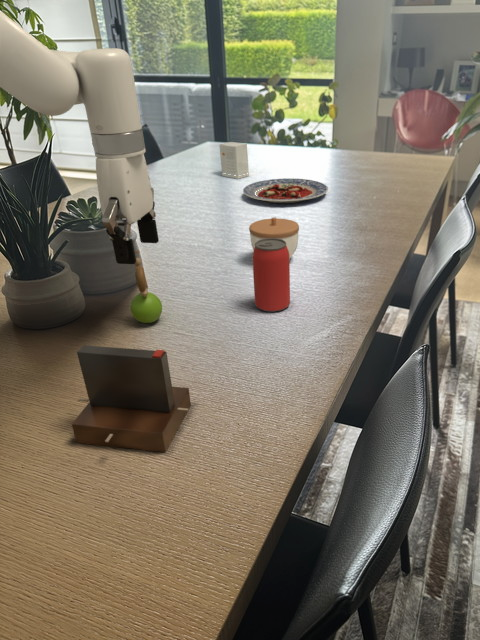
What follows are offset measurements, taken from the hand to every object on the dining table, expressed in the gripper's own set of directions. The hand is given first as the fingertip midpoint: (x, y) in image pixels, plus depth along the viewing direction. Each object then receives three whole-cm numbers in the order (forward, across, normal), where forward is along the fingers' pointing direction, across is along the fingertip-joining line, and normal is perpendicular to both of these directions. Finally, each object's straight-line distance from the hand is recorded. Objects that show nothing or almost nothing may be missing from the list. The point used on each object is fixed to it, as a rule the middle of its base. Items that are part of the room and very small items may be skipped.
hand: (138, 252), depth 92 cm
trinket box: (+13, -32, +17) cm, 38 cm away
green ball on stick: (+13, 0, 0) cm, 13 cm away
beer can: (+13, -9, +21) cm, 26 cm away
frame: (+10, +29, +10) cm, 32 cm away
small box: (+13, -109, -12) cm, 110 cm away
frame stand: (+13, +29, +10) cm, 33 cm away
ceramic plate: (+14, -85, +10) cm, 86 cm away
